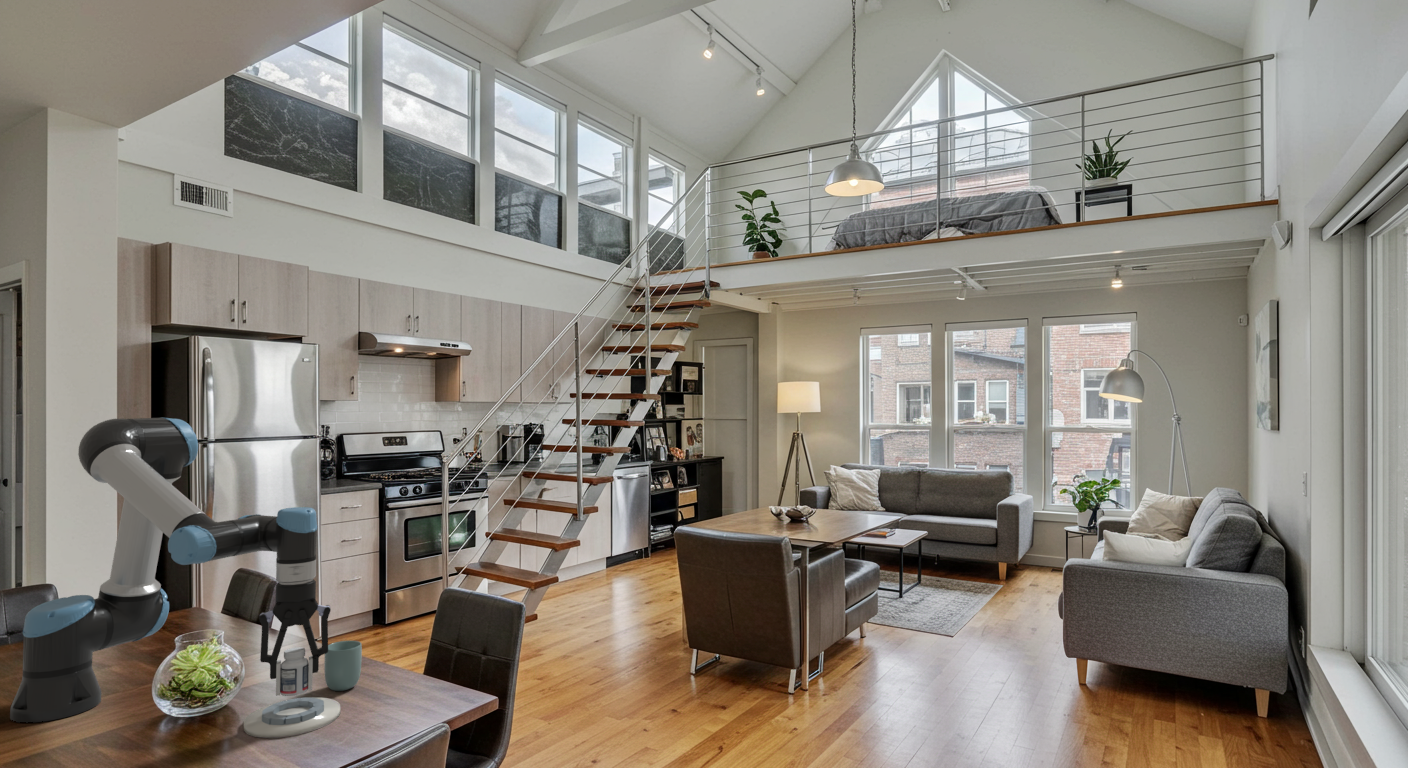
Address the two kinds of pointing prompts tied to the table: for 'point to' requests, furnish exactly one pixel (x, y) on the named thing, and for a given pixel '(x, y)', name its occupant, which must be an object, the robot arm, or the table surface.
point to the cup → (343, 665)
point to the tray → (291, 717)
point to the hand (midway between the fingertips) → (294, 690)
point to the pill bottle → (294, 672)
